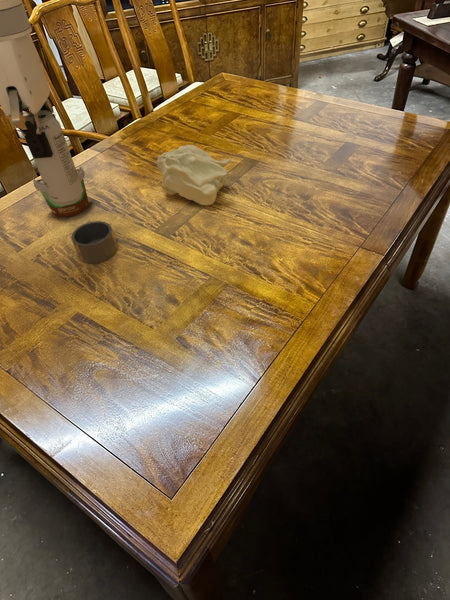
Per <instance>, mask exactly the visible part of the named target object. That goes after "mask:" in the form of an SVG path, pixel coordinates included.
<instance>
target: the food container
mask: <svg viewBox="0 0 450 600" xmlns="http://www.w3.org/2000/svg"><path fill="white" fill-rule="evenodd" d="M76 171H77V174H78V177H79V179H80V182H81V185H82V188H83V192H82V197H81V198H80V200H78V201H77V202H75V203H73V204H70V205H58V204H57V203H56V202H54V201H52V200H51V199H50V196H49V194H48V192H47V189H46V187H45V185H44V182H43V180H42V178H40V179H35V177H32V182H33V187H34V188H35V189H36V190H37V191H40V193H41V195H42V197H43V198H44V201H45V202H46V204H47V205H48V207H49V209H50V211H51V212H52V213H53V215H54V216H55V217H59V218H71V217H75V216H78V215H80V214H82V213H84V212H85V211H86V210H87V209H88V207H89V205H90V201H89V197H88V192H87V189H86V183H85V180H84V179H85V176H86V172H85V170H84V167H82V166H79V168H76Z"/></svg>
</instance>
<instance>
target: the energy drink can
mask: <svg viewBox="0 0 450 600" xmlns="http://www.w3.org/2000/svg"><path fill="white" fill-rule="evenodd" d="M37 114H38V118H39V122H40V126H41V130H42V132H44V131H45V134H46V137H47V139H48V142H49V144H50V147H51V150H52V152H53V155H52V157H47V158H37V159H35V158H33V157H32V159H33V162H34V164H35V166H36V168H37V171H38V173H39V175H40V177H41V178H40V179H42V180H43V182H44V185H45V187H46V189H47V192H48V194H49V196H50V199H51V200H52V201H54V202H56V203H57V204H58V205H70V204H73V203H75V202H77V201H78V200H80V198H81V197H82V192H83V188H82V185H81V182H80V179H79V177H78V174H77V171H76V170H77V168H76V165H75V163H74V160H73V157H72V154H71V151H70V148H69V146H68V143H67V139H66V137H65V134H64V132H63V131H64V130H63V129H62V126H61V123H60V121H59V120H58V119H57V117H56V118H54V117H53V115H52V114H53V113H52V112H50V111H46V110H41V111H39V112H38V113H37ZM24 118H25V119H26V121H30V122H31V123H32V124H34V123H33V119H32V117H24ZM23 137H24V136H23ZM24 139H25V137H24ZM26 144H27V143H26ZM27 146H28V144H27Z"/></svg>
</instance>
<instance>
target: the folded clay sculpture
mask: <svg viewBox="0 0 450 600" xmlns="http://www.w3.org/2000/svg"><path fill="white" fill-rule="evenodd" d="M231 162H232V159H231V158H227V159H224V160H217V159H214V158H213V157H212V156H211V154H210V153H208V152H207V151H205V150H203V149H202V148H199V147H198V146H196V145H194V144H186V145H180V146H178V148H173V149H172V150H171V151H164V152H163V153H162V154H160V155H159V156H157V160H156V167H157V169H158V171H159V172H160V174H161V180H162V181H161V188H162V190H163V191H164V192H165V193H166V194H167V195H170V196H174V195H176V194H178V195H179V196H181V197H183V198H185V199H186V200H189V201H193V202H195V203H197V204H198V205H200V206H206V207H207V206H211V205H214V203H215V201H216V199H217V194H218V192H219V191H220V190H221V189H222V187H223V185H224V184H225V183H226V180H227V178H228V176H229V171H228V170H227V169H226V168H225V167H226V166H228V165H229V164H230V163H231Z"/></svg>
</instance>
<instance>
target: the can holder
mask: <svg viewBox="0 0 450 600" xmlns="http://www.w3.org/2000/svg"><path fill="white" fill-rule="evenodd" d="M70 239H71V241H72V242H73V246H74V249H75V250H76V253H77V255H78V257H79V259H80V260H81V261H82V262H83V263H86V264H99V263H104V262H106V261H108V260H110V259H111V258H113V257H114V256H115V255H116V253H117V251H118V250H119V249H118V248H119V247H118V241H117V239H116V236H115V233H114V230H113V227H112V225H111V224H110V223H108V222H107V221H102V220H96V221H89V222H86V223H83V224H81V225H80V226H78V227H76V228H75V229H74V231H72V233H71V237H70Z"/></svg>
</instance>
